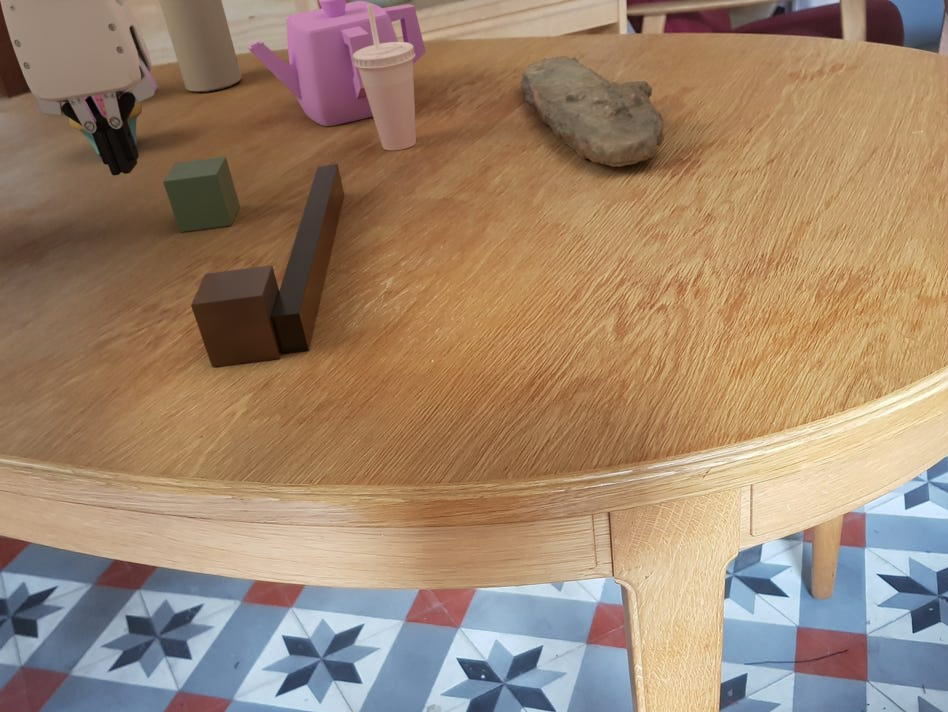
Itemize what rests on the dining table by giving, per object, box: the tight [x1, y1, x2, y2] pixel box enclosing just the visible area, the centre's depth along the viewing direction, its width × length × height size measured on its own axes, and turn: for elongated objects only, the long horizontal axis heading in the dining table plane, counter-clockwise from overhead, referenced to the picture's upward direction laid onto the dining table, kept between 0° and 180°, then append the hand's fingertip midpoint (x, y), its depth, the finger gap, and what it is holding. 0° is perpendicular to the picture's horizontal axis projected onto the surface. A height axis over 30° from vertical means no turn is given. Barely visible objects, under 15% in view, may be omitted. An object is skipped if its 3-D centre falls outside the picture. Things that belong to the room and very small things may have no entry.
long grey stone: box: [520, 55, 665, 168], centre depth 100 cm, size 35×5×10 cm
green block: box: [162, 156, 241, 233], centre depth 90 cm, size 5×5×5 cm
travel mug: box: [159, 0, 242, 93], centre depth 129 cm, size 8×8×18 cm
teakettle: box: [247, 0, 427, 127], centre depth 114 cm, size 17×17×12 cm
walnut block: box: [190, 264, 282, 368], centre depth 68 cm, size 5×5×5 cm
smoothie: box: [353, 3, 417, 151], centre depth 99 cm, size 6×6×14 cm
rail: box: [271, 163, 345, 355], centre depth 79 cm, size 2×31×3 cm, turn 2°
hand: (125, 169), depth 89 cm, fingers closed
